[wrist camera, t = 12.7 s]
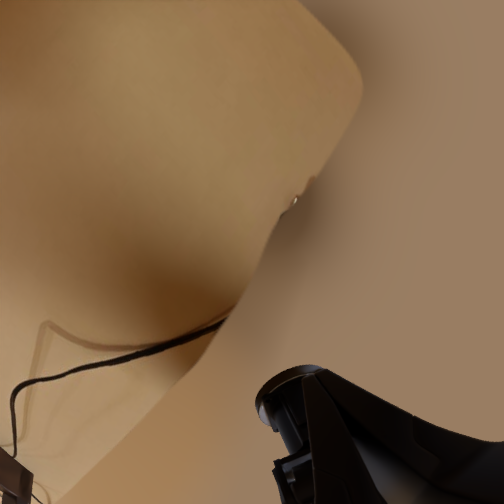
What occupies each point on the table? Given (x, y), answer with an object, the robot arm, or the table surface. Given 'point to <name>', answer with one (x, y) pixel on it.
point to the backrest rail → (14, 481)
